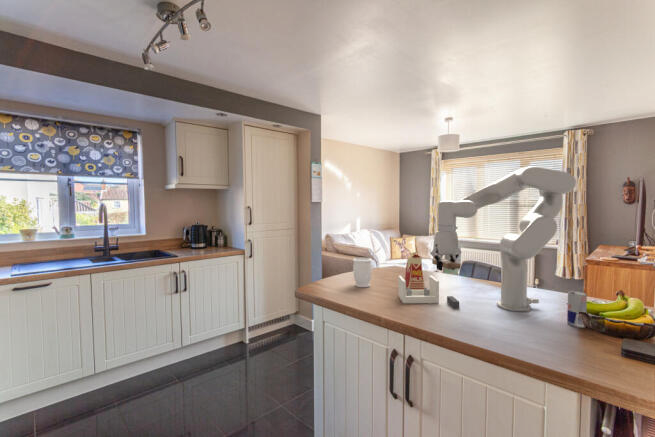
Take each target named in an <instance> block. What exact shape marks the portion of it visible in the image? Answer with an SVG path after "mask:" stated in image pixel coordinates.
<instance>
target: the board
mask: <svg viewBox="0 0 655 437" xmlns="http://www.w3.org/2000/svg"><path fill="white" fill-rule="evenodd" d="M431 260H432V261H431V262H432V264H433V265H435V266H437V261H436V260H435V258H433V259H431ZM449 260H450V259H445V258H442V260H441V261H442V262H443V264H442V268H443V269H444V268H445V269H448V270H452V269H455V270H456V269H459V270H460V269H461V263H460V262H456V261H455V262H452V261H449Z"/></svg>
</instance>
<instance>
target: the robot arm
mask: <svg viewBox="0 0 655 437" xmlns="http://www.w3.org/2000/svg"><path fill="white" fill-rule="evenodd" d="M576 185H577V181H576V178H575V177H574V176H573V175H572V174H571V173H569V172H566V171H561V170H557V169H550V168H544V167H540V166H534V165H533V166H531V165H530V166H526V167H522V168H518V169H517V170H515V171H513V172H510V173H509V174H507V175H505V176H504V177H502V178H499V179H498V180H496V181H494V182H492V183H490V184H488V185H486V186H485V187H483V188H481V189H478V190H477V191H474V192H473V193H471V194H469V195H467V196H465V197H463V198H462V199H459V200H458V201H455V200H441V201H439V202H438V204H437V231H436V232H435V234H434V237H433V238H434V239H433V247H432V250H431V252H430V255H431V256H432V257H433V259H435V260H436V261H437V265H436V270H438V271H443V267H442V264H443V262H442V261H441V260H442V259H443V258H444V257H443V256H449V259H448V260H449V261H452V262H456V261H457V259H458V258H459V257H460V255H461V254H462V251H461V250H460V248H459V237H458V233H457V230H458V227H459V226H457V218H464V219H470V218H473V217H474V216H476V215H477V213H478V210H480V209H482V208H484V207H486V206H489V205H494V204H498V203H500V202H503V201H505V200H507V199H509V198H510V197H512V196H514V195H516V194H518V193H520V192H522V191H524V190H526V189H531V188H532V189H537V190H538V192H539V200H538V201H537V203H536V204H535V205H534V207H533V208H531V210H530V211H529V212H528V213H527V214H525V216H523V218H522V219H521V220H520V223H519V225H518V227H519V231H520V232H521V233H520V234H519V233H507V234H505V235H504V236H503V237H501V239H500V242H499V251H500V261H501V264H500V265H501V267H500V270H501V271H500V272H501V273H500V274H501V275H500V276H501V278H500V300H497V301H496V305H497V306H498V307H499V308H501V309H504V310H508V311H511V312H512V311H513V312H529V311H531V310H532V306H531V304H539V303H540V301H539V299H538V298H532V297H527V296H528V292H527V291H528V261H527V260H531V259H532V258H534V257H535V256H536V255H538V253H539V252H541V251H542V249H543V248H544V247H545V246H546V245H547V244H548V243H549V242H550V241H551V240H552V239H553V238H554V236H555V235H556V233H557V231H558V224H557V222H556V220H555V218H556V217H557V216H558V215H559V213H560V212H561V210H562V208H563V200H564V199H563V195H565V194H569V193H570V192H572V191H573V190H574V189H575V187H576ZM451 270H453V271H455V270H456V269H451Z"/></svg>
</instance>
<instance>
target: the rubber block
mask: <svg viewBox="0 0 655 437" xmlns="http://www.w3.org/2000/svg"><path fill="white" fill-rule="evenodd" d="M446 304H448V305H449V307H451V308H452V309H453V310H460V301H459V300H458V299H456V298H455V297H454V296H453V295H452V296H451V295H447V296H446Z"/></svg>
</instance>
